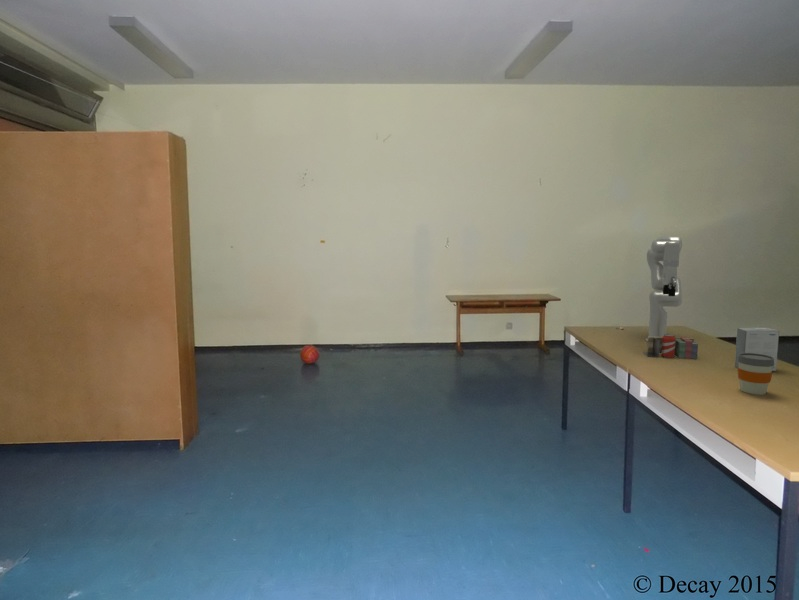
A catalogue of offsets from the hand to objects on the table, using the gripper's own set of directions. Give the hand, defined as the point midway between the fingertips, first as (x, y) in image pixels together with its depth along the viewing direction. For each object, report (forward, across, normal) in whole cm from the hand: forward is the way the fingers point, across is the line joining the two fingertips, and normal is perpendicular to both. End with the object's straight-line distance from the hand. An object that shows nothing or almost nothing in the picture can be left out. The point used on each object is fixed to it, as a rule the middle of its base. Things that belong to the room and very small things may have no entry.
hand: (668, 295), depth 278 cm
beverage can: (+32, +12, -2) cm, 35 cm away
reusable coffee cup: (+32, +70, +14) cm, 78 cm away
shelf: (+32, +8, +1) cm, 33 cm away
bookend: (+32, +9, -10) cm, 35 cm away
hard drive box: (+32, +30, +32) cm, 55 cm away
